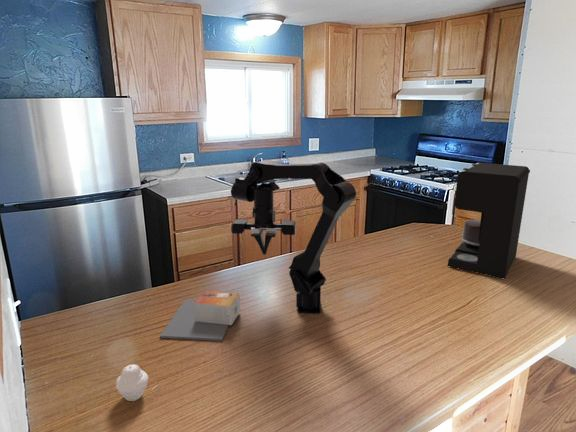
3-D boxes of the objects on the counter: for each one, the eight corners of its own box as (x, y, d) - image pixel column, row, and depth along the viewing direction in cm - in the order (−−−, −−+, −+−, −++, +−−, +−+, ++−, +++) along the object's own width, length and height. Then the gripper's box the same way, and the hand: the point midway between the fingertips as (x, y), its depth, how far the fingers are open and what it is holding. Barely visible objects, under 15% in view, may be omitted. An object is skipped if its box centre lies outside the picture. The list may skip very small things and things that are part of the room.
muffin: (110, 402, 82) (106, 371, 80) (132, 383, 88) (128, 354, 86) (136, 409, 80) (132, 379, 78) (156, 389, 86) (153, 360, 84)
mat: (238, 303, 122) (238, 301, 122) (222, 340, 103) (222, 338, 103) (186, 300, 123) (185, 299, 123) (160, 337, 104) (159, 335, 104)
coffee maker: (464, 244, 170) (475, 160, 161) (518, 254, 159) (532, 164, 150) (445, 266, 148) (455, 169, 139) (505, 279, 137) (521, 175, 128)
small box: (231, 306, 107) (192, 303, 109) (231, 325, 109) (194, 322, 110) (240, 293, 115) (204, 289, 117) (240, 311, 116) (205, 307, 118)
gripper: (297, 198, 127) (297, 246, 131) (238, 197, 129) (239, 244, 133) (294, 207, 117) (294, 258, 121) (229, 206, 118) (232, 256, 122)
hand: (264, 254), depth 125 cm, fingers closed
